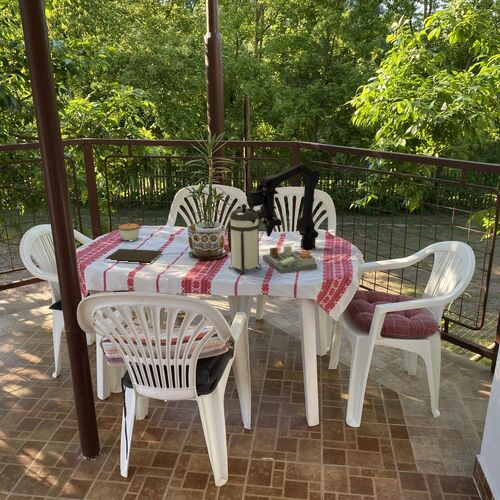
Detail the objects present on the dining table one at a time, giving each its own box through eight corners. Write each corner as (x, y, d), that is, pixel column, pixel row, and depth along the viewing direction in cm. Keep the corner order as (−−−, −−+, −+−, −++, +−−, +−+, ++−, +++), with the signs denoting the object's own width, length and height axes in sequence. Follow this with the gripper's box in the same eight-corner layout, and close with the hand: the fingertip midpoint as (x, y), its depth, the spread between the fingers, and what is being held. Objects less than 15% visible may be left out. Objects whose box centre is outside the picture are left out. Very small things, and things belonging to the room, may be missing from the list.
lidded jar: (137, 242, 276) (136, 225, 274) (117, 242, 277) (116, 225, 274) (141, 237, 287) (140, 220, 284) (122, 237, 287) (121, 220, 284)
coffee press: (265, 263, 240) (264, 200, 231) (257, 275, 225) (257, 208, 216) (229, 261, 244) (227, 199, 235) (219, 273, 229) (217, 206, 220)
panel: (297, 255, 252) (297, 245, 250) (317, 268, 233) (317, 257, 232) (262, 259, 246) (262, 249, 245) (280, 273, 227) (280, 262, 226)
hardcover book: (119, 253, 261) (119, 248, 260) (162, 255, 257) (162, 250, 256) (105, 263, 246) (104, 258, 246) (150, 265, 242) (150, 261, 241)
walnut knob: (275, 255, 245) (275, 247, 244) (277, 257, 243) (277, 248, 242) (270, 256, 244) (270, 248, 243) (271, 257, 242) (271, 249, 241)
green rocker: (292, 258, 233) (291, 256, 232) (295, 260, 230) (295, 258, 229) (280, 263, 231) (279, 261, 231) (283, 265, 228) (282, 263, 228)
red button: (307, 257, 236) (307, 250, 235) (311, 260, 233) (311, 252, 232) (299, 258, 235) (299, 251, 234) (303, 261, 231) (303, 253, 230)
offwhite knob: (289, 253, 247) (289, 245, 246) (291, 255, 245) (291, 247, 244) (283, 254, 246) (283, 246, 245) (285, 256, 244) (285, 247, 243)
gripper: (245, 201, 248) (246, 233, 253) (259, 209, 232) (259, 243, 236) (267, 199, 252) (267, 230, 257) (282, 207, 235) (282, 240, 240)
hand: (268, 236), depth 247 cm, fingers closed
